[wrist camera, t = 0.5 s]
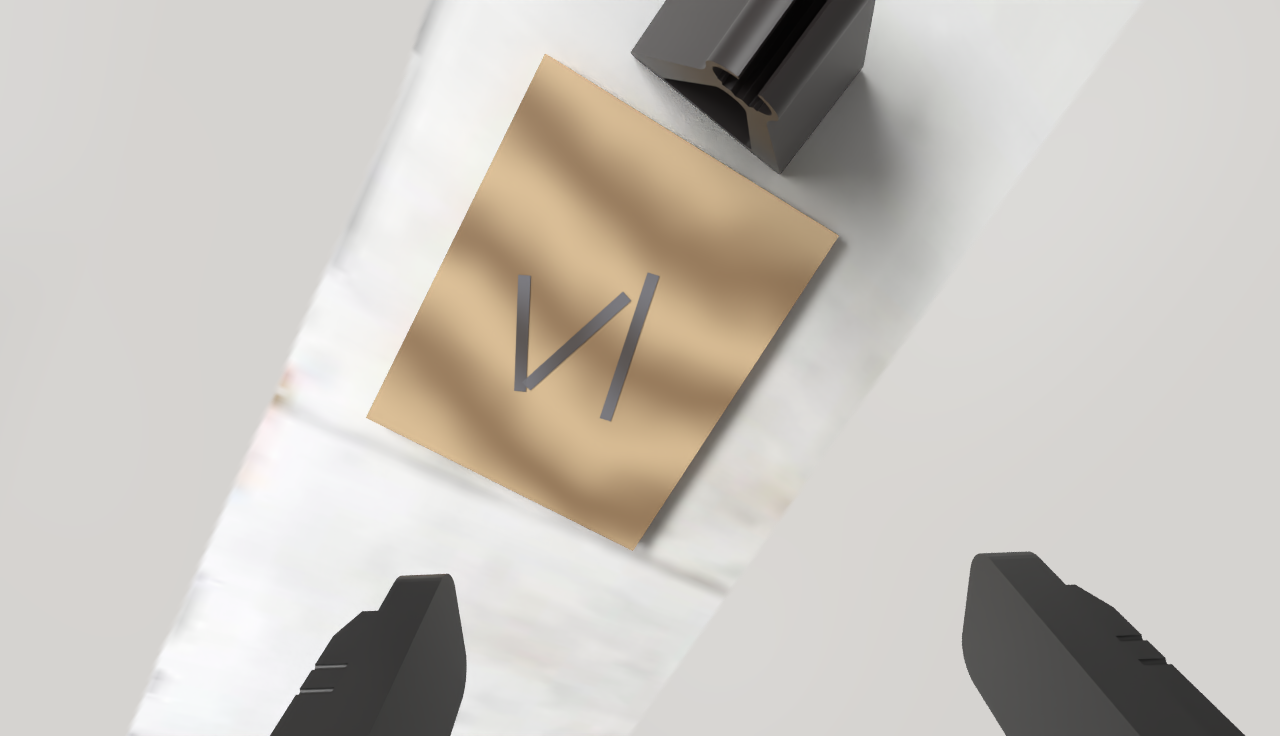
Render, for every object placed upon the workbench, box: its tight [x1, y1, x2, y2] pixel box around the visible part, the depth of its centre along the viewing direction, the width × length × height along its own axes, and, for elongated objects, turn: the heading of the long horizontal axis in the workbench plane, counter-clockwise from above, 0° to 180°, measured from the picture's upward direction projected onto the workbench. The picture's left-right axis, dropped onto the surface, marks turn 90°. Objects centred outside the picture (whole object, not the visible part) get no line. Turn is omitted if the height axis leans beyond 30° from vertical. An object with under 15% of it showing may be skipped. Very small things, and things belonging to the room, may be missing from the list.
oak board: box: [366, 54, 839, 551], centre depth 34 cm, size 20×16×1 cm
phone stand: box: [631, 0, 875, 174], centre depth 25 cm, size 9×6×12 cm, turn 53°
